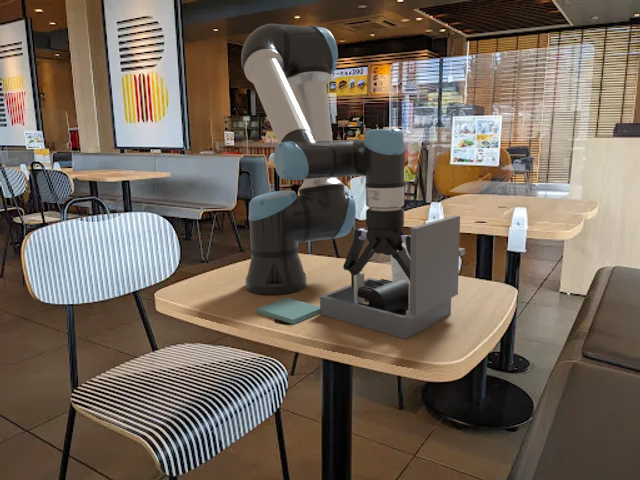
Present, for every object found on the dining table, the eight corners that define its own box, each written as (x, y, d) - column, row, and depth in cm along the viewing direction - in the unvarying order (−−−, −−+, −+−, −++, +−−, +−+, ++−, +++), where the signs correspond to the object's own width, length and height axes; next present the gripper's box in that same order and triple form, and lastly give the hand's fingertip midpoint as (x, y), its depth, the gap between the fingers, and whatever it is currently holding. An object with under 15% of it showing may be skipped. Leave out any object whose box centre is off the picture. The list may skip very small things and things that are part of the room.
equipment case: (320, 314, 106) (317, 217, 102) (374, 292, 120) (373, 205, 116) (413, 341, 91) (414, 229, 87) (462, 312, 105) (466, 214, 101)
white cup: (400, 276, 133) (400, 238, 131) (427, 281, 128) (428, 242, 126) (384, 283, 127) (384, 244, 125) (412, 288, 122) (412, 248, 120)
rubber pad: (257, 312, 108) (256, 308, 108) (287, 301, 115) (286, 297, 115) (293, 324, 101) (293, 319, 101) (323, 312, 108) (323, 307, 107)
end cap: (384, 325, 100) (384, 292, 98) (356, 317, 104) (356, 285, 103) (412, 311, 107) (413, 280, 105) (385, 304, 111) (385, 275, 110)
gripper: (325, 206, 106) (328, 302, 111) (430, 215, 90) (429, 328, 94) (347, 202, 112) (349, 294, 116) (451, 210, 95) (448, 317, 100)
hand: (385, 309), depth 105 cm, fingers open, 13 cm apart
